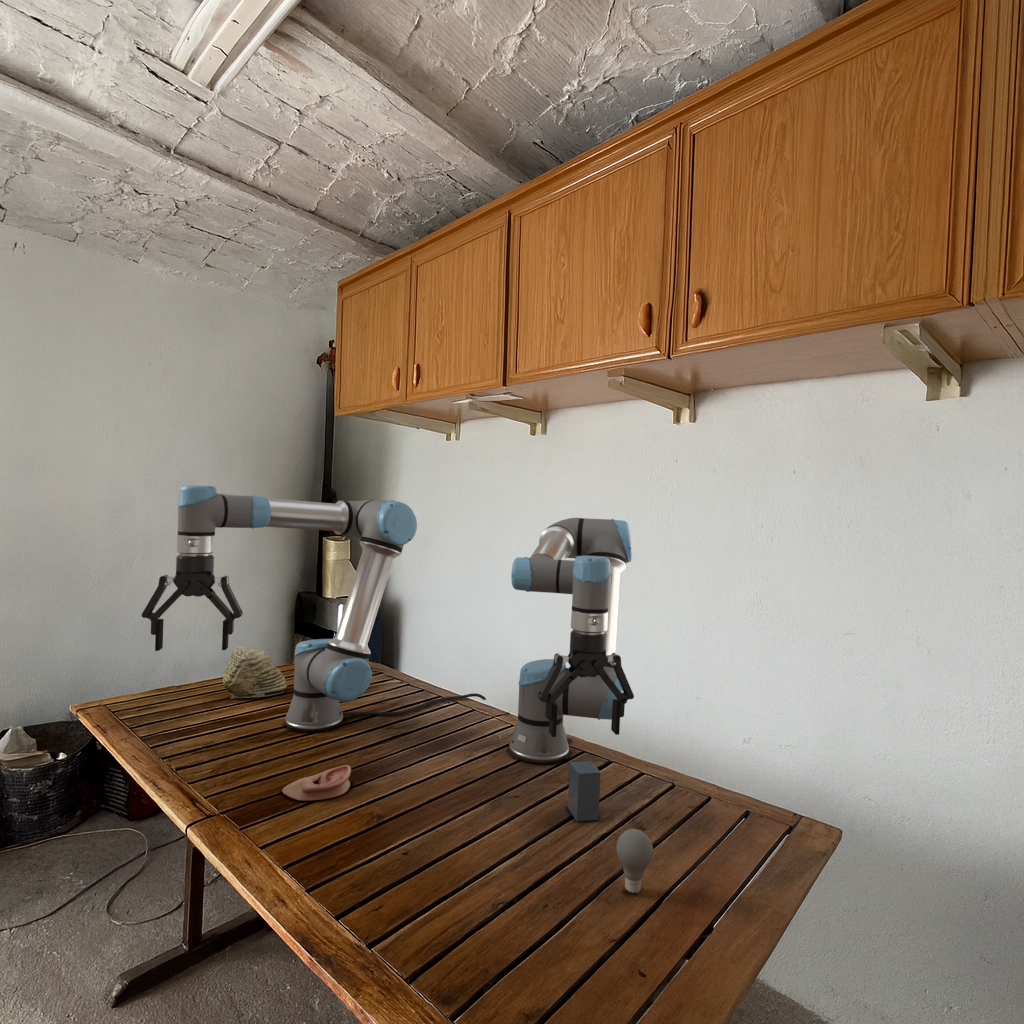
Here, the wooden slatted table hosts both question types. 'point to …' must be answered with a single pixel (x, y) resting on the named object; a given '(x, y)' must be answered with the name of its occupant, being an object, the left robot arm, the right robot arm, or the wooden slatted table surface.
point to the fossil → (252, 674)
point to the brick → (584, 791)
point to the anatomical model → (320, 785)
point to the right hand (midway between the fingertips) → (584, 733)
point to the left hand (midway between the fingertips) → (192, 649)
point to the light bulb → (634, 857)
